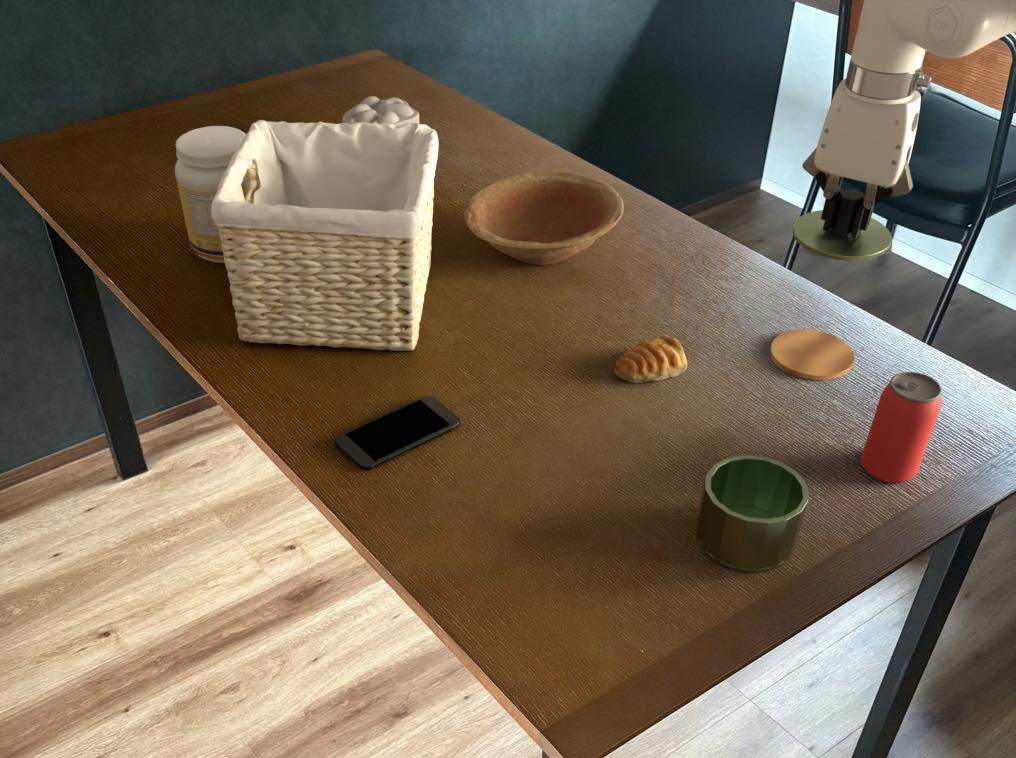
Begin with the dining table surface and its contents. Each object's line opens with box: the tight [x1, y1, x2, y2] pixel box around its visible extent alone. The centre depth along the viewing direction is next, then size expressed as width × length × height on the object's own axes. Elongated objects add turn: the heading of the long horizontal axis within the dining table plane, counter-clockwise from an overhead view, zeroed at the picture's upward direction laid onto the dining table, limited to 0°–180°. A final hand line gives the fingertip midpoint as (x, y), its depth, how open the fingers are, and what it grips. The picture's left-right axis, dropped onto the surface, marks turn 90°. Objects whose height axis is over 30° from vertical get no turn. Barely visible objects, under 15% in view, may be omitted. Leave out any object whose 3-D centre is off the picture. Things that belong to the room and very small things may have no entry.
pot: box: [695, 454, 810, 573], centre depth 118 cm, size 11×11×8 cm
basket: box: [211, 119, 440, 352], centre depth 148 cm, size 27×27×22 cm
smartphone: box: [333, 395, 461, 471], centre depth 134 cm, size 7×15×1 cm, turn 128°
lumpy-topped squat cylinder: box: [341, 95, 421, 127], centre depth 188 cm, size 10×13×9 cm
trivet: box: [769, 328, 855, 381], centre depth 145 cm, size 11×11×1 cm
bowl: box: [463, 171, 625, 266], centre depth 164 cm, size 24×24×8 cm
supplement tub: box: [174, 125, 249, 264], centre depth 162 cm, size 12×12×17 cm
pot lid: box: [791, 188, 893, 262], centre depth 132 cm, size 12×12×6 cm
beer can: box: [860, 371, 943, 484], centre depth 125 cm, size 7×7×12 cm
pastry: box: [614, 334, 688, 384], centre depth 142 cm, size 9×7×4 cm
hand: (843, 228), depth 133 cm, fingers closed on pot lid, 2 cm apart
